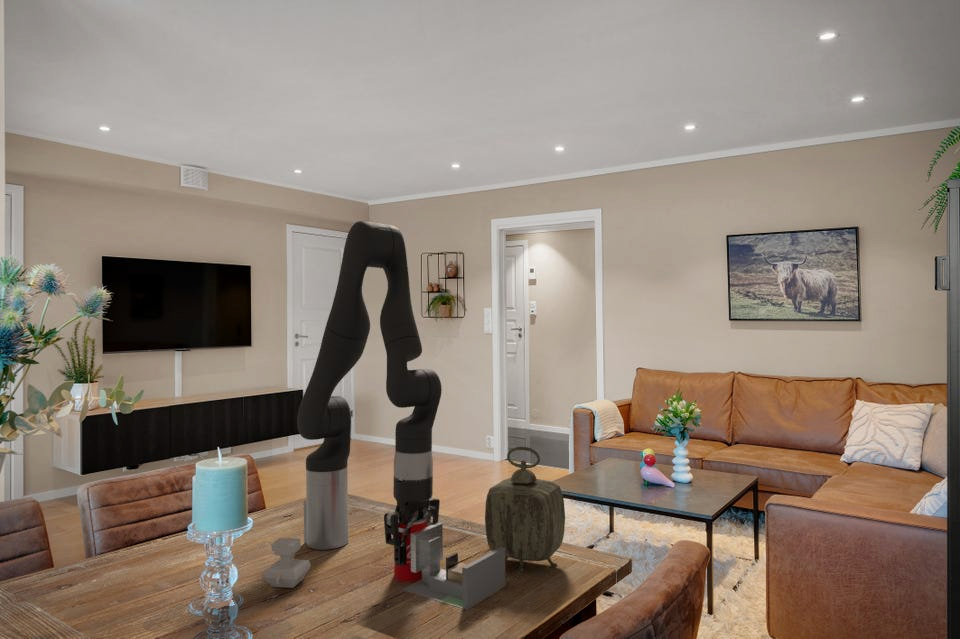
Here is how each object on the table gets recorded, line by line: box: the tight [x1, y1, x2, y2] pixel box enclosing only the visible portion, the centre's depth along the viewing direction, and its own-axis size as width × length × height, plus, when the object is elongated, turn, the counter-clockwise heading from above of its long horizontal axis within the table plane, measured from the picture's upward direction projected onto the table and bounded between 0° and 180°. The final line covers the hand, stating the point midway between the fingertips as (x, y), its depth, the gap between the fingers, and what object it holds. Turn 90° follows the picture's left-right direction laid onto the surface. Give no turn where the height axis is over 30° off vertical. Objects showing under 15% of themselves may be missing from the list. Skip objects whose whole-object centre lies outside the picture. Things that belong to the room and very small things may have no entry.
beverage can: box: [393, 519, 428, 583], centre depth 126 cm, size 6×6×12 cm
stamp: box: [263, 537, 312, 589], centre depth 126 cm, size 9×7×8 cm
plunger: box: [411, 522, 459, 585], centre depth 122 cm, size 7×8×10 cm
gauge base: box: [401, 547, 506, 611], centre depth 120 cm, size 15×12×8 cm
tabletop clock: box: [484, 446, 566, 572], centre depth 130 cm, size 14×9×25 cm, turn 65°
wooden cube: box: [448, 562, 468, 584], centre depth 119 cm, size 4×4×4 cm
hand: (412, 558), depth 126 cm, fingers closed on beverage can, 6 cm apart
